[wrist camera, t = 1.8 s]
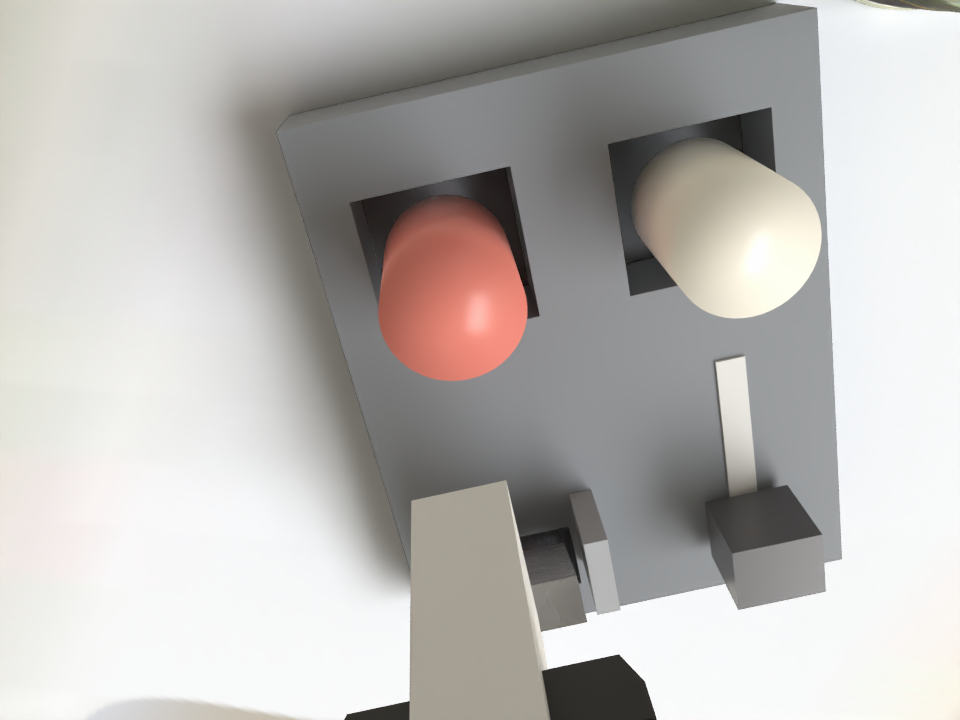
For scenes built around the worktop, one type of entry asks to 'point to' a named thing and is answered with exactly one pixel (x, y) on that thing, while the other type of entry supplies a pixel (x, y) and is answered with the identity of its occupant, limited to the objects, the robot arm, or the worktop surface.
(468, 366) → the button red
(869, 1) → the coffee can
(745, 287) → the button ivory
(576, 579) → the lever
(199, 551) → the worktop surface
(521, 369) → the panel
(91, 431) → the worktop surface
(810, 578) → the slider knob
